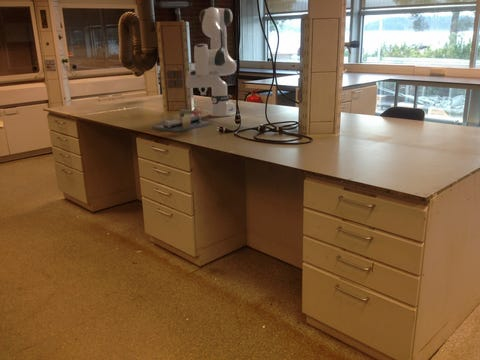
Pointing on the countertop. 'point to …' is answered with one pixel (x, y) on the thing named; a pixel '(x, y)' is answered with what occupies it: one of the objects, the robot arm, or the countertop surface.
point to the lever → (189, 112)
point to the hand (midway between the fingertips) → (203, 95)
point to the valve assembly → (182, 123)
